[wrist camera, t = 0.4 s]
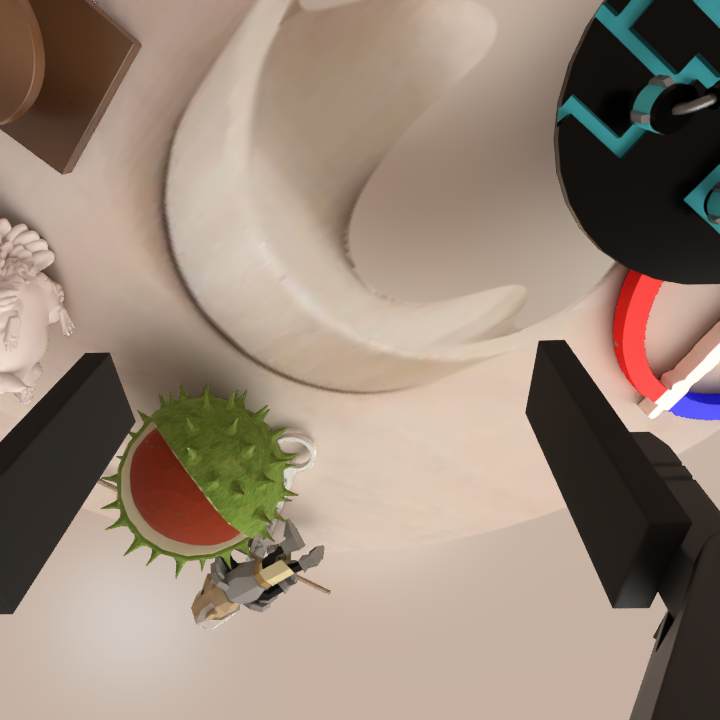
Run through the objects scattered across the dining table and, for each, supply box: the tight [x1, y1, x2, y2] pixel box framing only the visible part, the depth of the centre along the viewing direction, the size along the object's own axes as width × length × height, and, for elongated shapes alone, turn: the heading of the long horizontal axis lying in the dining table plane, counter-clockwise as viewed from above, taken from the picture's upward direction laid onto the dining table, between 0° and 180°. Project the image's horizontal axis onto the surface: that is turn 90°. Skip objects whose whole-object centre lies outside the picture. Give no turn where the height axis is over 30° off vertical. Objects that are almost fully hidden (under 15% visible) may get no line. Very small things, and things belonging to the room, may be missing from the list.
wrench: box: [246, 433, 317, 562], centre depth 50 cm, size 25×1×5 cm
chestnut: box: [101, 381, 300, 578], centre depth 38 cm, size 15×14×15 cm
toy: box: [97, 478, 330, 630], centre depth 47 cm, size 29×5×15 cm
